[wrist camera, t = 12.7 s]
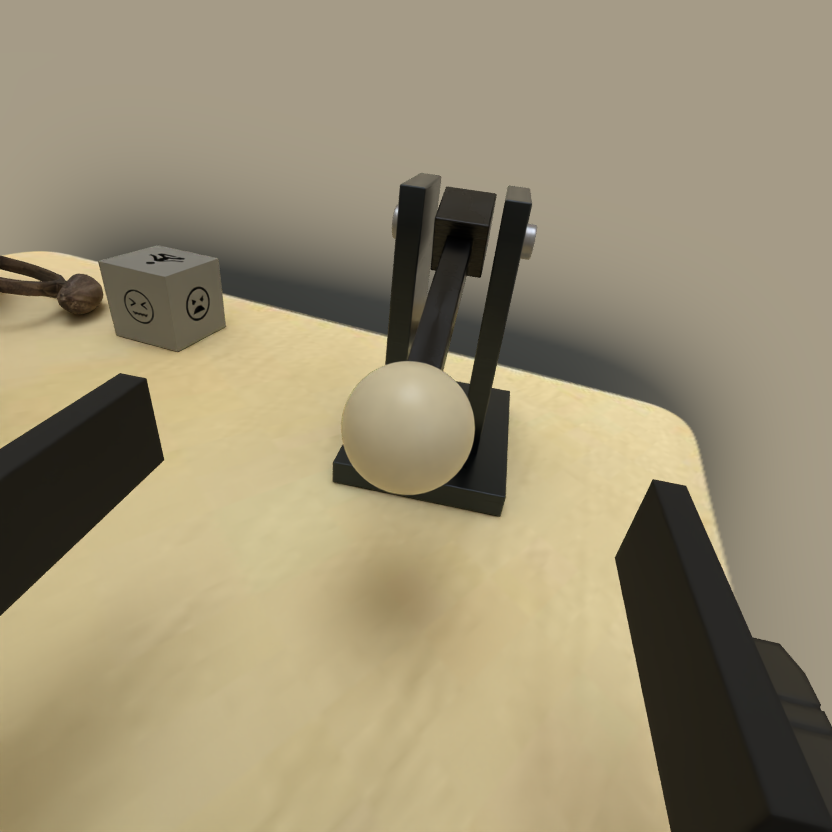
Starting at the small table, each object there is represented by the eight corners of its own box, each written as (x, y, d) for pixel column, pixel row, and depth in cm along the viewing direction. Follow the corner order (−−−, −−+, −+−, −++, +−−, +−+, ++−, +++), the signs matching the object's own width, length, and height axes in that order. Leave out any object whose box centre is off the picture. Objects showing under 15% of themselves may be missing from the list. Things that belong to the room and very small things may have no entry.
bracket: (500, 516, 22) (581, 223, 15) (332, 481, 23) (337, 187, 16) (506, 407, 31) (560, 185, 24) (382, 384, 31) (400, 163, 24)
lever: (455, 531, 14) (474, 455, 11) (329, 504, 14) (314, 424, 11) (502, 260, 23) (519, 178, 20) (423, 247, 23) (429, 166, 20)
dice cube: (225, 326, 36) (218, 258, 33) (178, 351, 32) (164, 276, 29) (169, 312, 37) (157, 245, 34) (116, 335, 33) (98, 261, 30)
